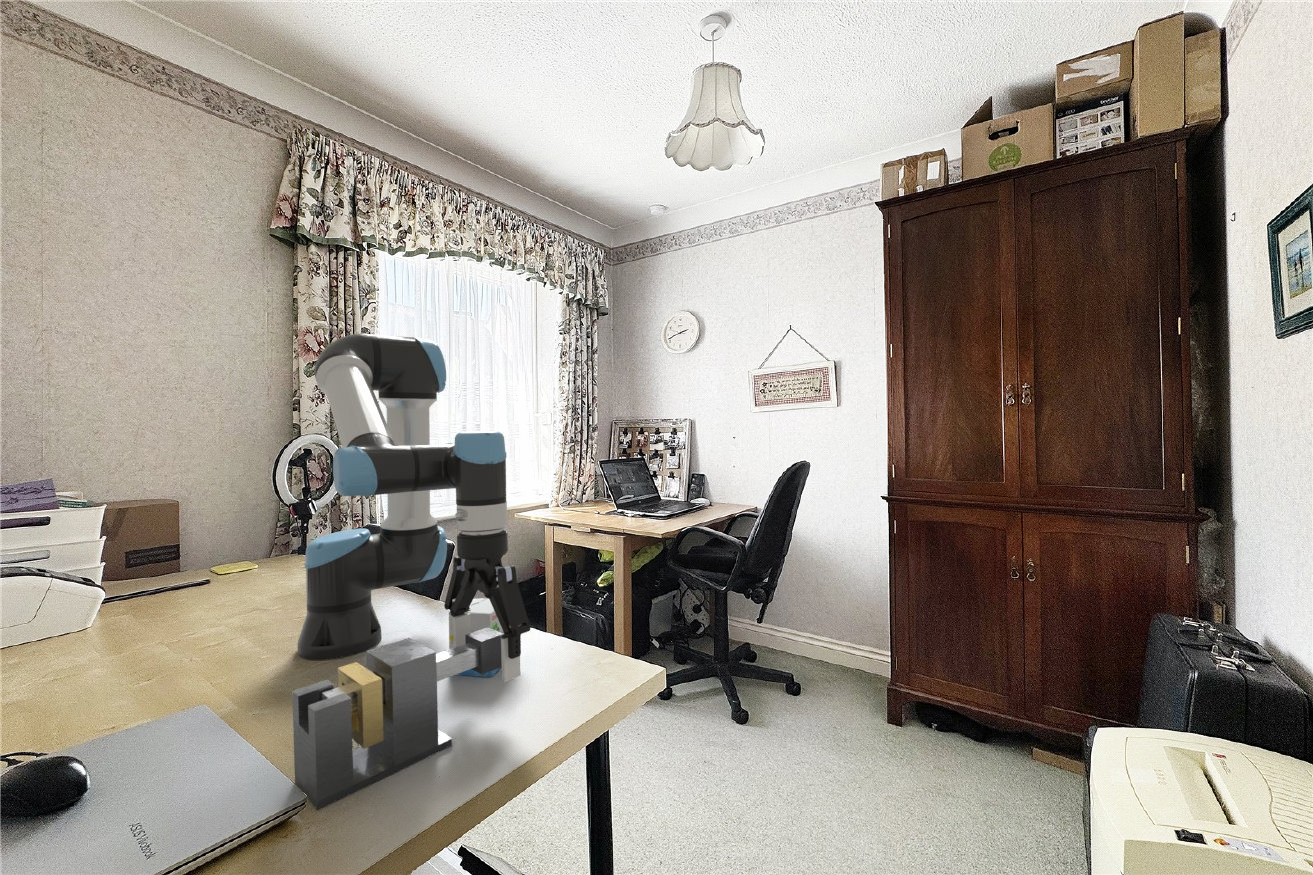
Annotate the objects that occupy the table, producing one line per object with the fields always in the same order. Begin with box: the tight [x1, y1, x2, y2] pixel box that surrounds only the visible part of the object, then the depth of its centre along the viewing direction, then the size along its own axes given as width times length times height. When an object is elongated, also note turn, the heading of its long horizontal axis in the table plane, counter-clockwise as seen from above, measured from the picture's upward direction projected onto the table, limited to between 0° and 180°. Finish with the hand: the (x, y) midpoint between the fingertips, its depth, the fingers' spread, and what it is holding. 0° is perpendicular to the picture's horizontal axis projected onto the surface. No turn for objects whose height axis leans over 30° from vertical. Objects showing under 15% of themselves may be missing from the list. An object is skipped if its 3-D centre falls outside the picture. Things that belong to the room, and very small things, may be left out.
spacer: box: [337, 661, 383, 749], centre depth 72 cm, size 8×2×8 cm, turn 49°
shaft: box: [322, 628, 503, 714], centre depth 79 cm, size 4×24×5 cm, turn 139°
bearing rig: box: [291, 637, 453, 811], centre depth 74 cm, size 8×17×14 cm, turn 139°
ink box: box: [448, 597, 510, 678], centre depth 104 cm, size 9×8×12 cm
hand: (485, 666), depth 86 cm, fingers open, 13 cm apart
